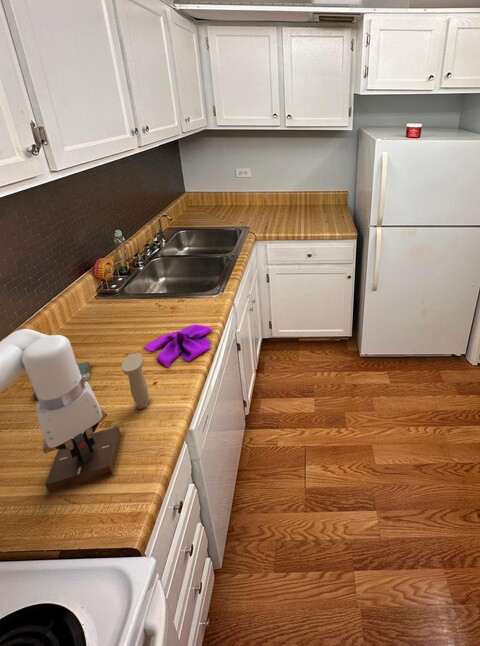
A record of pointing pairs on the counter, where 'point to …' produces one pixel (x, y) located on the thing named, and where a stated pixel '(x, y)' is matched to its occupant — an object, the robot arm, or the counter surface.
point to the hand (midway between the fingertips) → (84, 451)
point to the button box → (81, 369)
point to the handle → (136, 379)
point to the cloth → (181, 344)
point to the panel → (76, 472)
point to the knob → (83, 448)
